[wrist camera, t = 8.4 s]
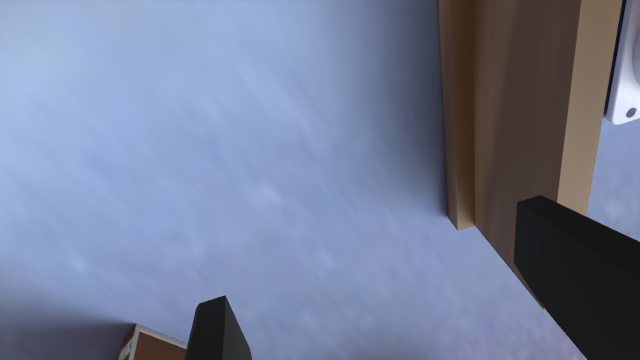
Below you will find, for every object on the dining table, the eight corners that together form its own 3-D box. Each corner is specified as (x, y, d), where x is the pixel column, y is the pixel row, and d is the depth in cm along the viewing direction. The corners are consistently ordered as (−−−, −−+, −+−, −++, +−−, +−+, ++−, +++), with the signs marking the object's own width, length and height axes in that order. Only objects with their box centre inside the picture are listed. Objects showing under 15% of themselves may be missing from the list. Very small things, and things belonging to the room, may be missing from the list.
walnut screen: (525, -371, 13) (759, -526, 8) (503, 200, 25) (591, 293, 19) (421, -349, 13) (590, -494, 8) (448, 218, 24) (523, 317, 19)
